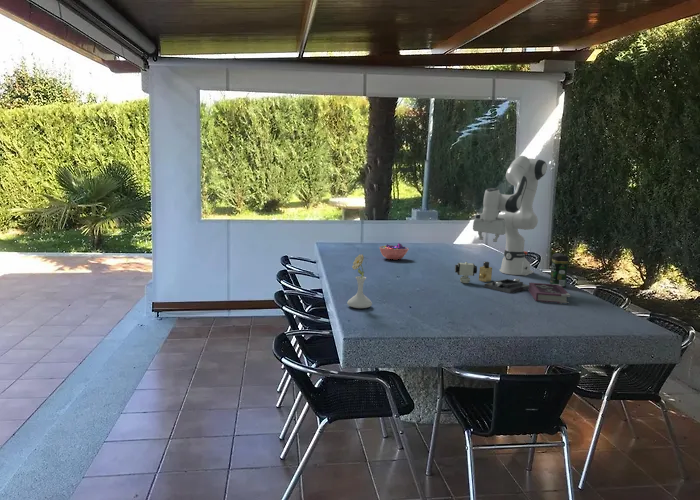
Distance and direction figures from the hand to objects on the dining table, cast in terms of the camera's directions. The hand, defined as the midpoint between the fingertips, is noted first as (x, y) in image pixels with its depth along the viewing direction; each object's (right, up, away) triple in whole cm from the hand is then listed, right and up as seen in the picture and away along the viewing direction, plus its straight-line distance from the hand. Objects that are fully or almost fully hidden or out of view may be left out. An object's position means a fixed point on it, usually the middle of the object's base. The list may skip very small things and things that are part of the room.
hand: (488, 240), depth 331 cm
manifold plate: (+7, -26, -14) cm, 31 cm away
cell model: (-50, -12, +62) cm, 81 cm away
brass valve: (-1, -23, +4) cm, 23 cm away
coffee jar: (+39, -26, -2) cm, 47 cm away
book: (+24, -30, -31) cm, 49 cm away
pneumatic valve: (-14, -24, -4) cm, 28 cm away
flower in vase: (-75, -32, -69) cm, 106 cm away
